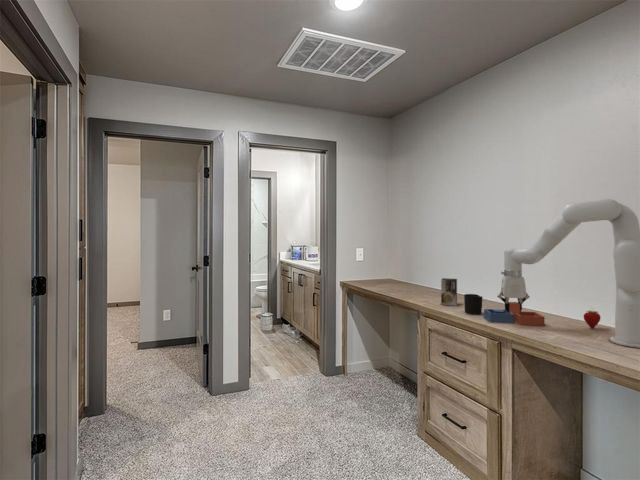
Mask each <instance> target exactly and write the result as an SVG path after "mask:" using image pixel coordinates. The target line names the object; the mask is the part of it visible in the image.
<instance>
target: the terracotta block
mask: <svg viewBox="0 0 640 480" xmlns="http://www.w3.org/2000/svg"><path fill="white" fill-rule="evenodd" d="M508 304H509V313H520V304H519V303H518V301H508Z"/></svg>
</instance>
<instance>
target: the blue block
mask: <svg viewBox="0 0 640 480" xmlns="http://www.w3.org/2000/svg"><path fill="white" fill-rule="evenodd" d="M503 310H504V309H500V310H493V313H501V314H505V312H504V311H503Z"/></svg>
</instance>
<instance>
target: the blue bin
mask: <svg viewBox="0 0 640 480" xmlns="http://www.w3.org/2000/svg"><path fill="white" fill-rule="evenodd" d="M493 310H501V309H500V308H499V309H496V308H484V309H483V318H484V319H485V320H487V321H488V322H489V323H497V324H498V323H499V324H500V323H501V324H514V323H515V321H514V314H512V313H509V312H507V311H506V310H505V309H502V310H503V311H504V312H505V314H501V313H493Z"/></svg>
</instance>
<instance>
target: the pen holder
mask: <svg viewBox="0 0 640 480" xmlns="http://www.w3.org/2000/svg"><path fill="white" fill-rule="evenodd" d="M463 296H464V297H463V299H464V301H463V303H464V304H463V305H464V313H465V314H467V315H473V316H474V315H475V316H477V315H478V316H479V315H481V314H482V311H483V295H482V296H480V295H479V294H476V293H465V294H464V295H463Z"/></svg>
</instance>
